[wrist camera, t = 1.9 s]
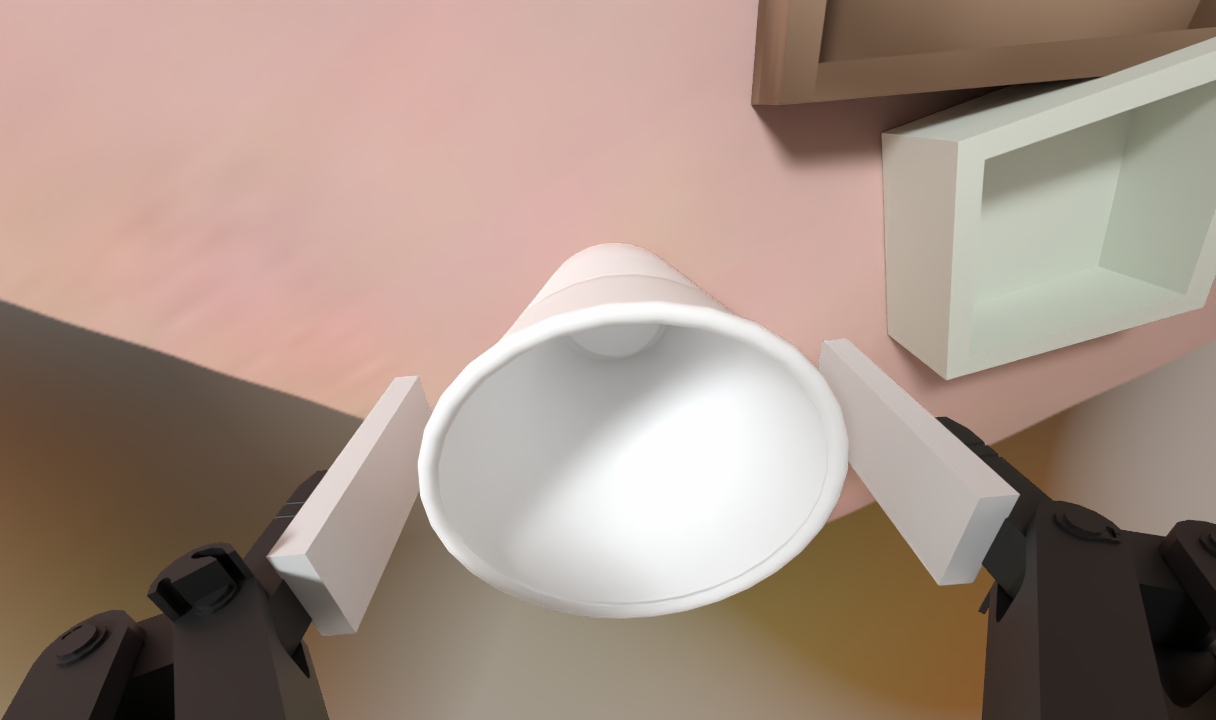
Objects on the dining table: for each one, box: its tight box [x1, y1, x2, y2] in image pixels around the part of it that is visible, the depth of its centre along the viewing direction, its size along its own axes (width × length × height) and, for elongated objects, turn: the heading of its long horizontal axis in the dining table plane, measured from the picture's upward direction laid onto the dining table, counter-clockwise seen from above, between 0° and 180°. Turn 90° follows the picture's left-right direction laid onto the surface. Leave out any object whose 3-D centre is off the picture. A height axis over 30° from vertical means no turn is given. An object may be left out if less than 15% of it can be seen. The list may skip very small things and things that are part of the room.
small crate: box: [882, 37, 1216, 380], centre depth 16 cm, size 9×9×4 cm
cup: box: [418, 243, 849, 618], centre depth 15 cm, size 10×10×11 cm
